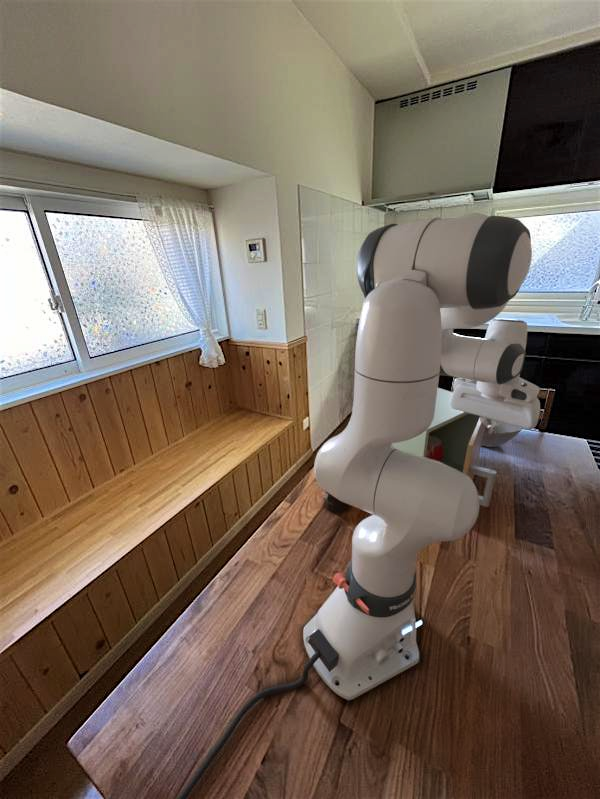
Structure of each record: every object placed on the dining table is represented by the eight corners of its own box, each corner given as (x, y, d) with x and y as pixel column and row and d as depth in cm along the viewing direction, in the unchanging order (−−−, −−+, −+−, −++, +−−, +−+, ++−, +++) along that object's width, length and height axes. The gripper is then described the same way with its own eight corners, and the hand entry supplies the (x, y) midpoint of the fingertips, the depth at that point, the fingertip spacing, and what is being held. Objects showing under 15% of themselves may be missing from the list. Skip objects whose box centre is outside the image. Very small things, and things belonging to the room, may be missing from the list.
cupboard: (471, 471, 109) (484, 402, 99) (417, 504, 96) (426, 429, 86) (425, 447, 123) (432, 385, 113) (372, 474, 110) (375, 406, 100)
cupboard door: (496, 478, 105) (512, 408, 95) (482, 533, 85) (501, 452, 75) (472, 471, 108) (485, 403, 99) (453, 523, 89) (468, 444, 79)
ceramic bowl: (504, 427, 133) (509, 404, 129) (530, 459, 113) (537, 434, 109) (445, 425, 137) (448, 402, 133) (460, 456, 117) (464, 431, 113)
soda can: (441, 480, 103) (446, 447, 98) (417, 478, 105) (421, 445, 100) (437, 467, 110) (442, 435, 105) (415, 465, 111) (418, 433, 106)
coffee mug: (353, 514, 93) (353, 485, 89) (322, 515, 94) (321, 486, 90) (348, 487, 104) (348, 460, 100) (320, 488, 104) (319, 461, 100)
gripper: (449, 378, 89) (443, 424, 94) (540, 397, 75) (526, 450, 80) (459, 371, 92) (453, 416, 98) (547, 389, 79) (534, 440, 84)
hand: (487, 432), depth 89 cm, fingers closed
